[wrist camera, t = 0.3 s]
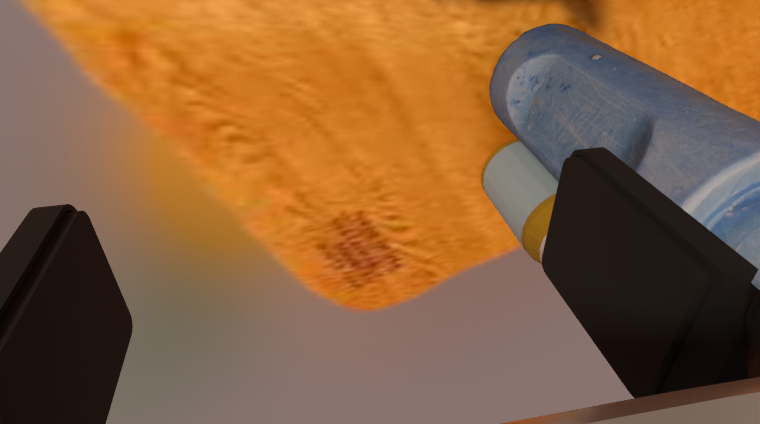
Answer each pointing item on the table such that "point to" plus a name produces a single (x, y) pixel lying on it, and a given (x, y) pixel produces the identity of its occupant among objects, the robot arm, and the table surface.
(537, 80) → the bottle
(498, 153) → the bottle
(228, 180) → the table surface
